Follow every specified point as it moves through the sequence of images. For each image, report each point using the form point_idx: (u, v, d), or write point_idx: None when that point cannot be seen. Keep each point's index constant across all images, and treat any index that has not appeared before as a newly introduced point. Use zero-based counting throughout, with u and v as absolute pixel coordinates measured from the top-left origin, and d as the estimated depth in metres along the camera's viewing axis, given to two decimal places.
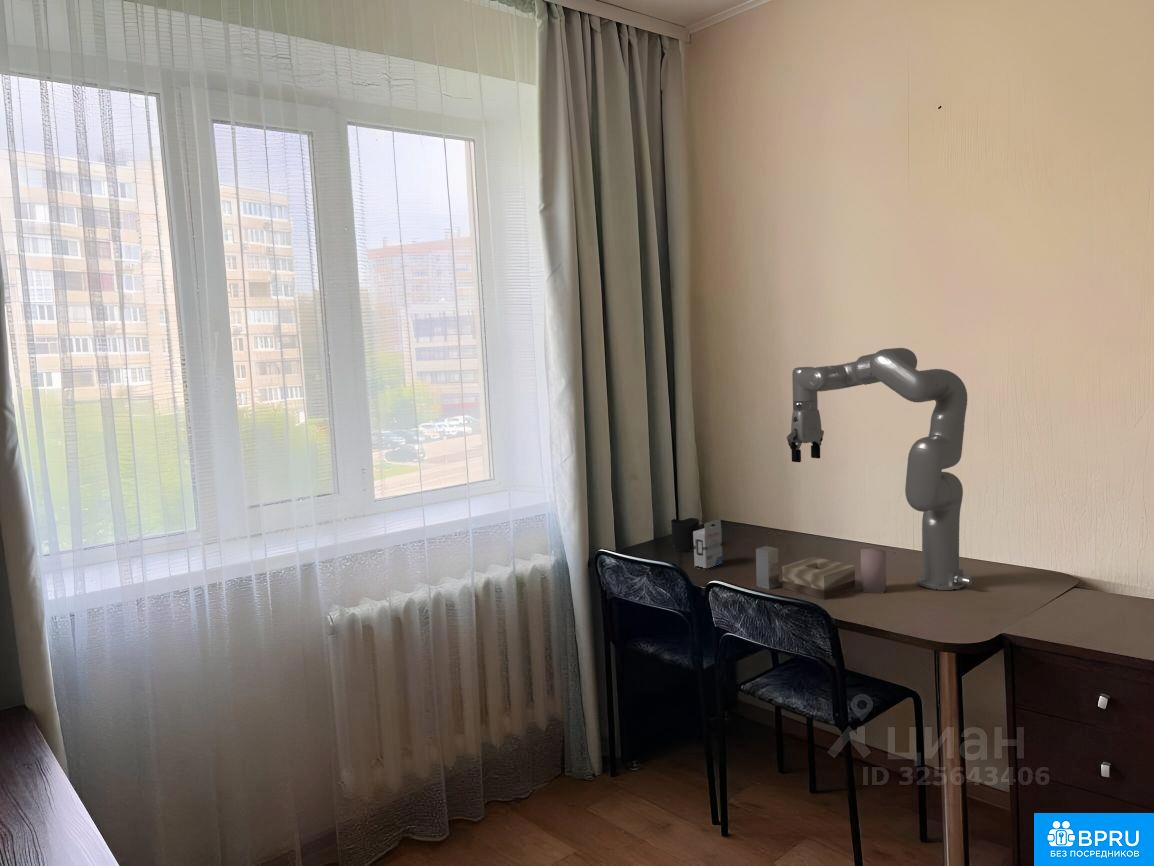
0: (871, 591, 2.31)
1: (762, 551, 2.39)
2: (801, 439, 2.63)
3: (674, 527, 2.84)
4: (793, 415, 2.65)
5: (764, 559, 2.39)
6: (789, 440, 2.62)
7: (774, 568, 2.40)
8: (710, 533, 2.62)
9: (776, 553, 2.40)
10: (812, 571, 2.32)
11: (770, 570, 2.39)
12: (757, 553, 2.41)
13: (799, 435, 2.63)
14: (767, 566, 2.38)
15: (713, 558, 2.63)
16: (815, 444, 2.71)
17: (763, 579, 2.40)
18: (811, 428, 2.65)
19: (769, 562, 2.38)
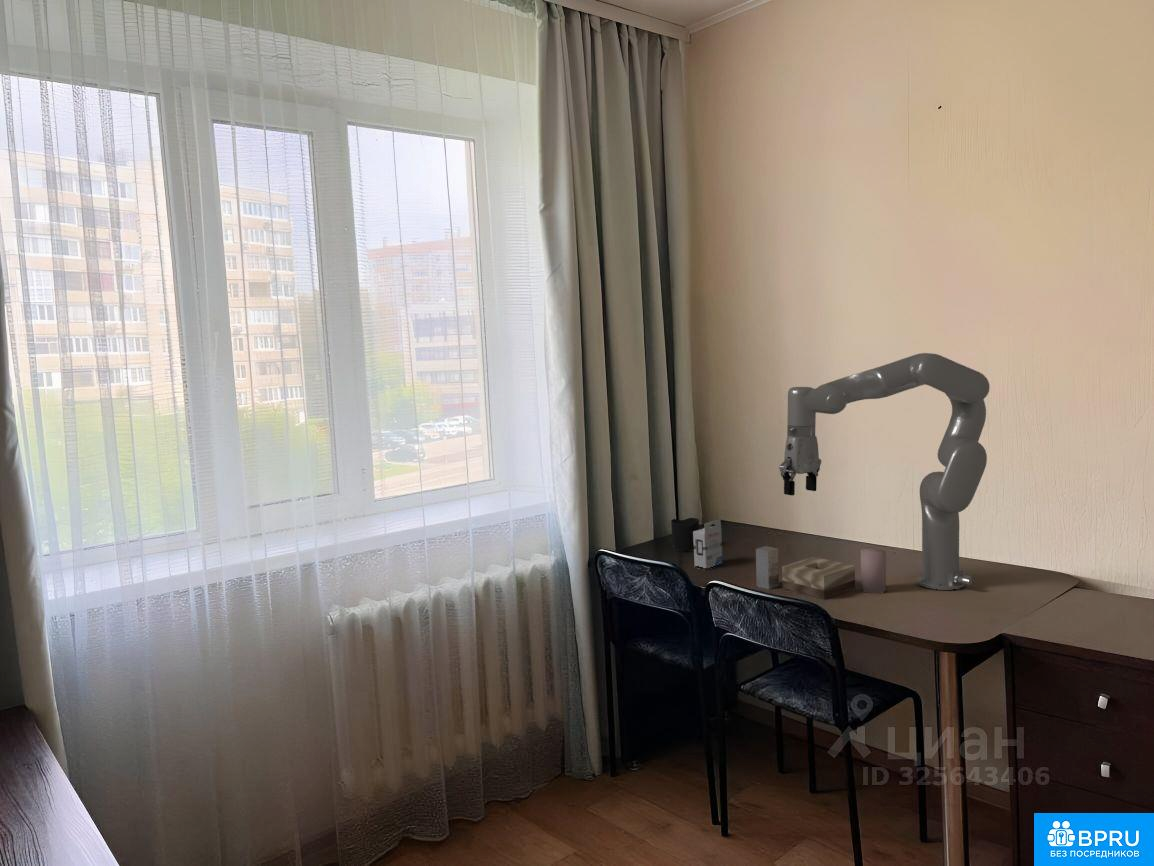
0: (871, 591, 2.31)
1: (762, 551, 2.39)
2: (795, 469, 2.30)
3: (674, 527, 2.84)
4: (787, 441, 2.32)
5: (764, 559, 2.39)
6: (782, 470, 2.30)
7: (774, 568, 2.40)
8: (710, 533, 2.62)
9: (776, 553, 2.40)
10: (812, 571, 2.32)
11: (770, 570, 2.39)
12: (757, 553, 2.41)
13: (793, 465, 2.31)
14: (767, 566, 2.38)
15: (713, 558, 2.63)
16: (811, 475, 2.38)
17: (763, 579, 2.40)
18: (807, 457, 2.32)
19: (769, 562, 2.38)
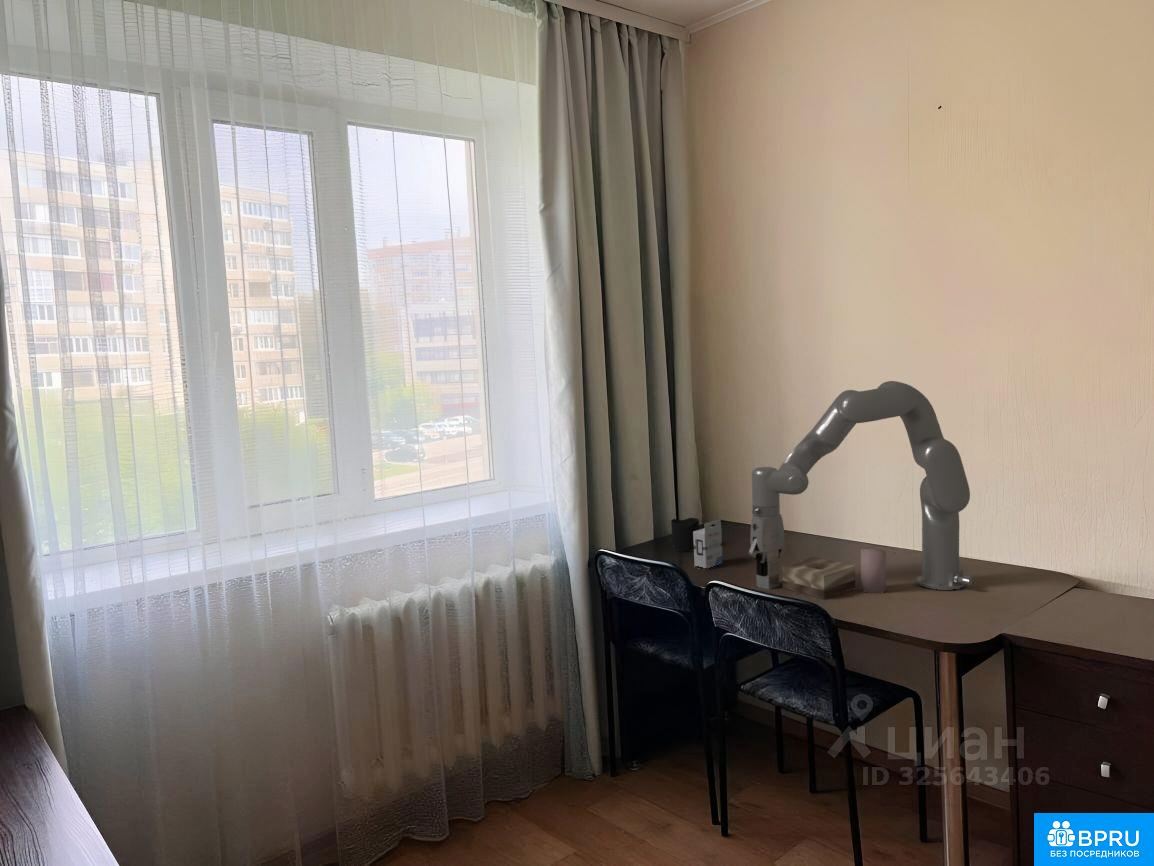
0: (871, 591, 2.31)
1: None
2: (760, 549, 2.36)
3: (674, 527, 2.84)
4: (752, 521, 2.38)
5: None
6: (752, 555, 2.37)
7: (774, 568, 2.40)
8: (710, 533, 2.62)
9: (776, 553, 2.40)
10: (812, 571, 2.32)
11: (770, 570, 2.39)
12: None
13: None
14: (767, 566, 2.38)
15: (713, 558, 2.63)
16: None
17: (763, 579, 2.40)
18: (772, 536, 2.38)
19: (769, 562, 2.38)
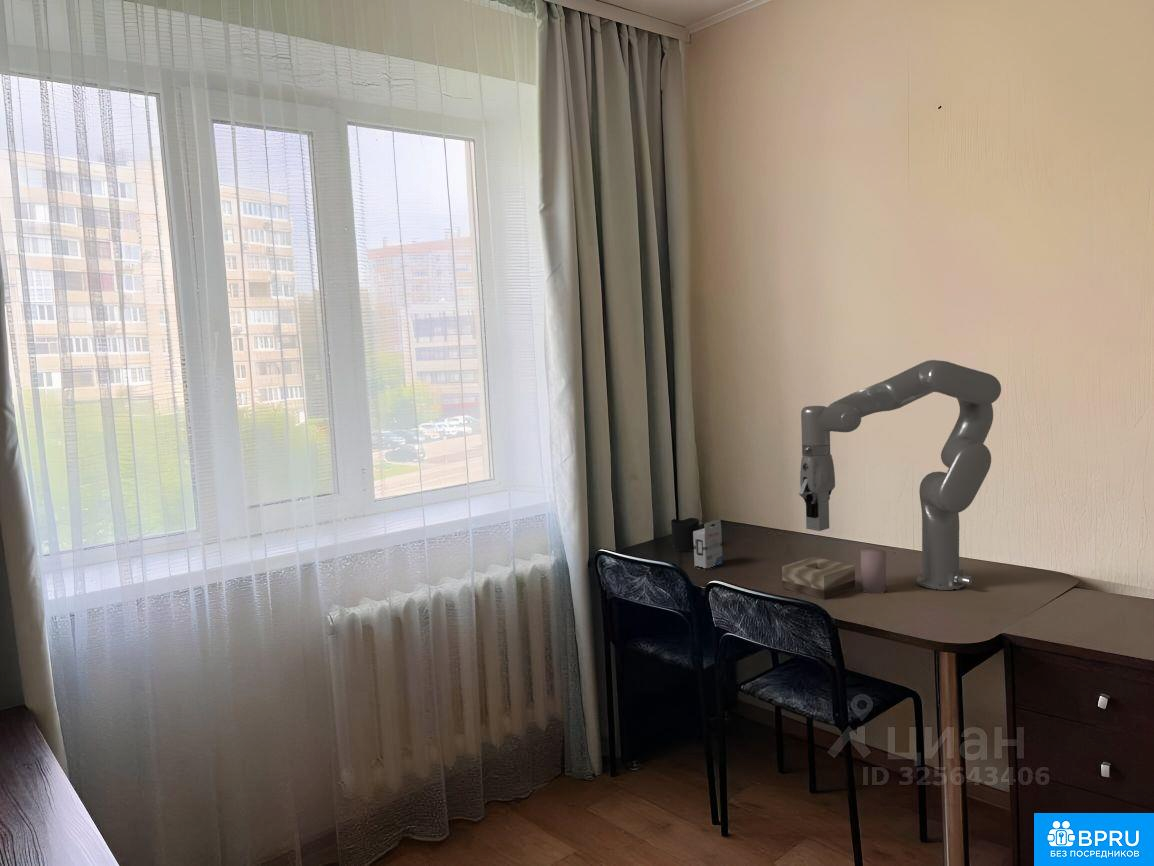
0: (871, 591, 2.31)
1: None
2: (811, 489, 2.30)
3: (674, 527, 2.84)
4: (802, 461, 2.32)
5: None
6: (803, 496, 2.31)
7: (825, 509, 2.34)
8: (710, 533, 2.62)
9: (826, 494, 2.34)
10: (812, 571, 2.32)
11: (821, 511, 2.33)
12: None
13: None
14: (818, 507, 2.32)
15: (713, 558, 2.63)
16: None
17: (814, 520, 2.34)
18: (823, 476, 2.32)
19: (820, 503, 2.32)
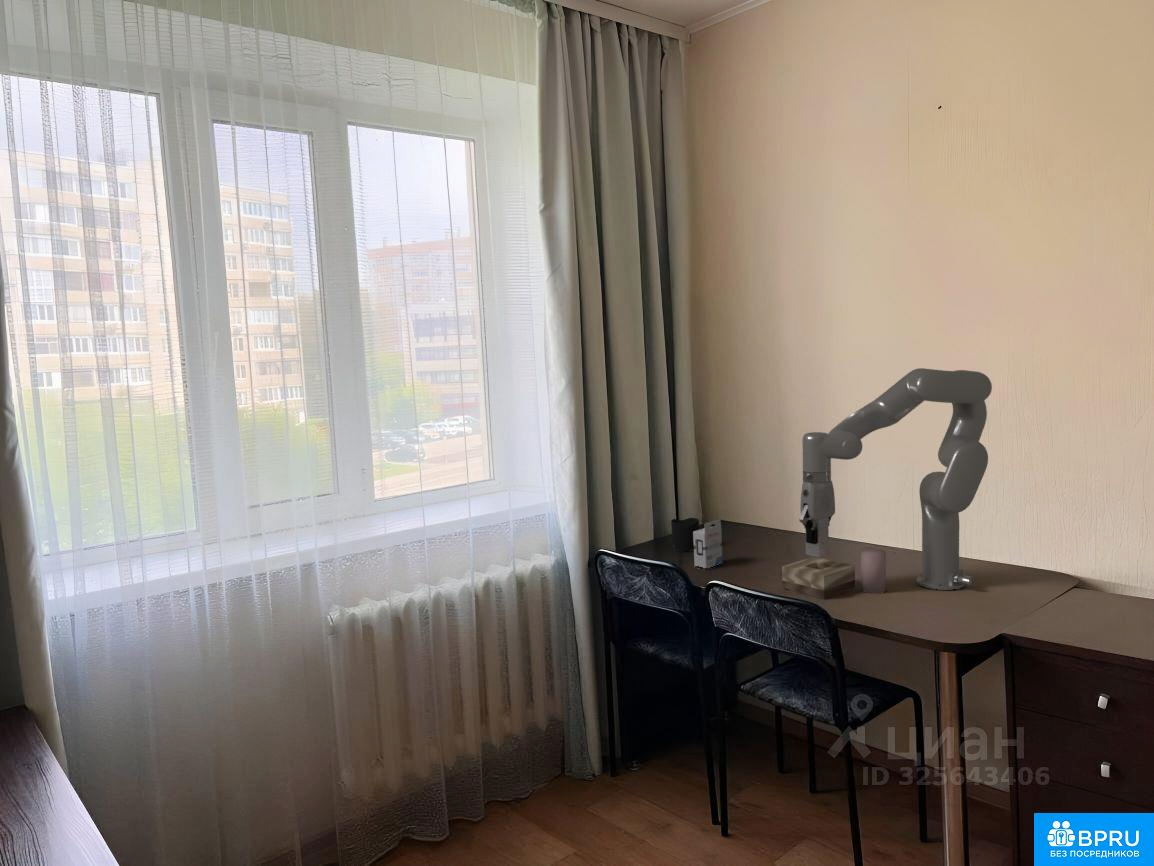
0: (871, 591, 2.31)
1: None
2: (811, 515, 2.31)
3: (674, 527, 2.84)
4: (803, 487, 2.33)
5: None
6: (803, 522, 2.32)
7: (824, 535, 2.35)
8: (710, 533, 2.62)
9: (826, 520, 2.35)
10: (812, 571, 2.32)
11: (820, 537, 2.34)
12: None
13: None
14: (817, 533, 2.33)
15: (713, 558, 2.63)
16: None
17: (813, 546, 2.35)
18: (823, 503, 2.32)
19: (819, 529, 2.33)
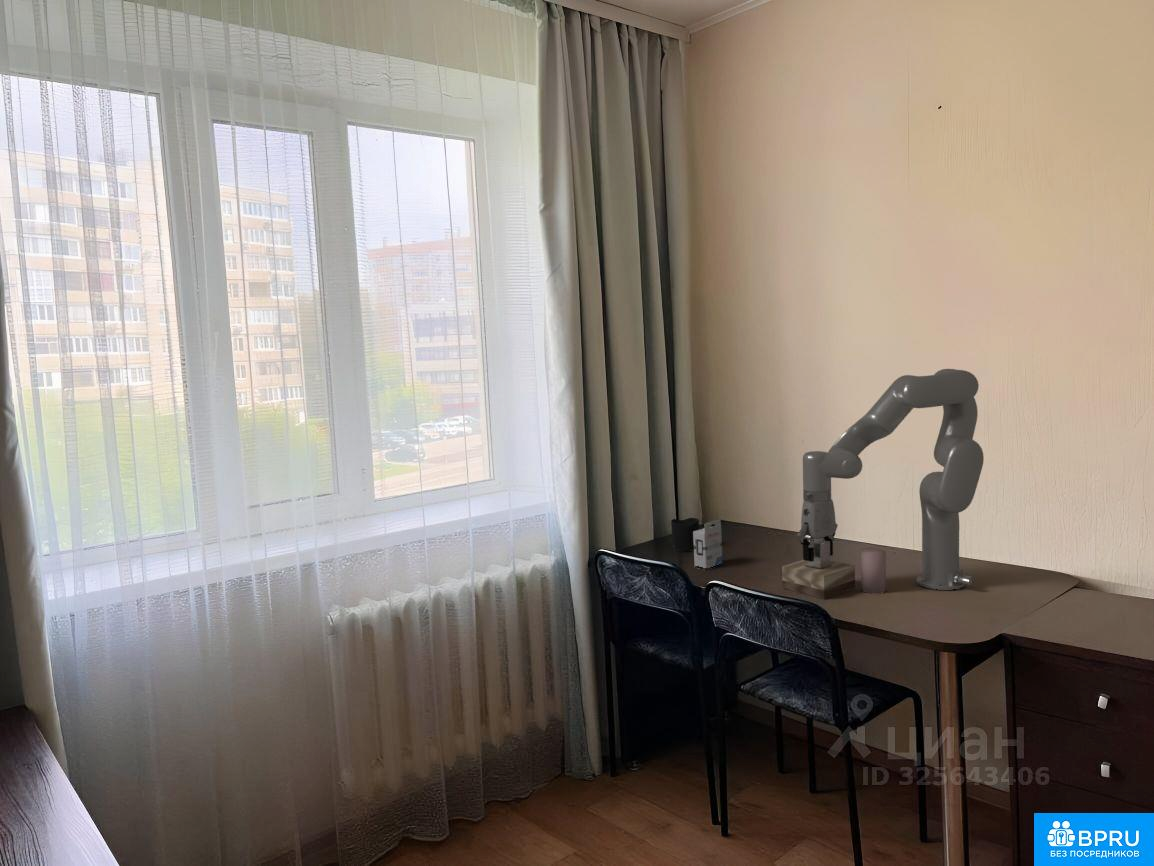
0: (871, 591, 2.31)
1: (814, 544, 2.35)
2: (812, 534, 2.31)
3: (674, 527, 2.84)
4: (803, 507, 2.33)
5: (815, 552, 2.35)
6: (800, 538, 2.31)
7: (826, 561, 2.35)
8: (710, 533, 2.62)
9: (828, 546, 2.36)
10: (812, 571, 2.32)
11: (822, 563, 2.34)
12: None
13: (811, 531, 2.32)
14: (819, 559, 2.34)
15: (713, 558, 2.63)
16: (827, 539, 2.39)
17: None
18: (824, 522, 2.33)
19: (821, 555, 2.34)
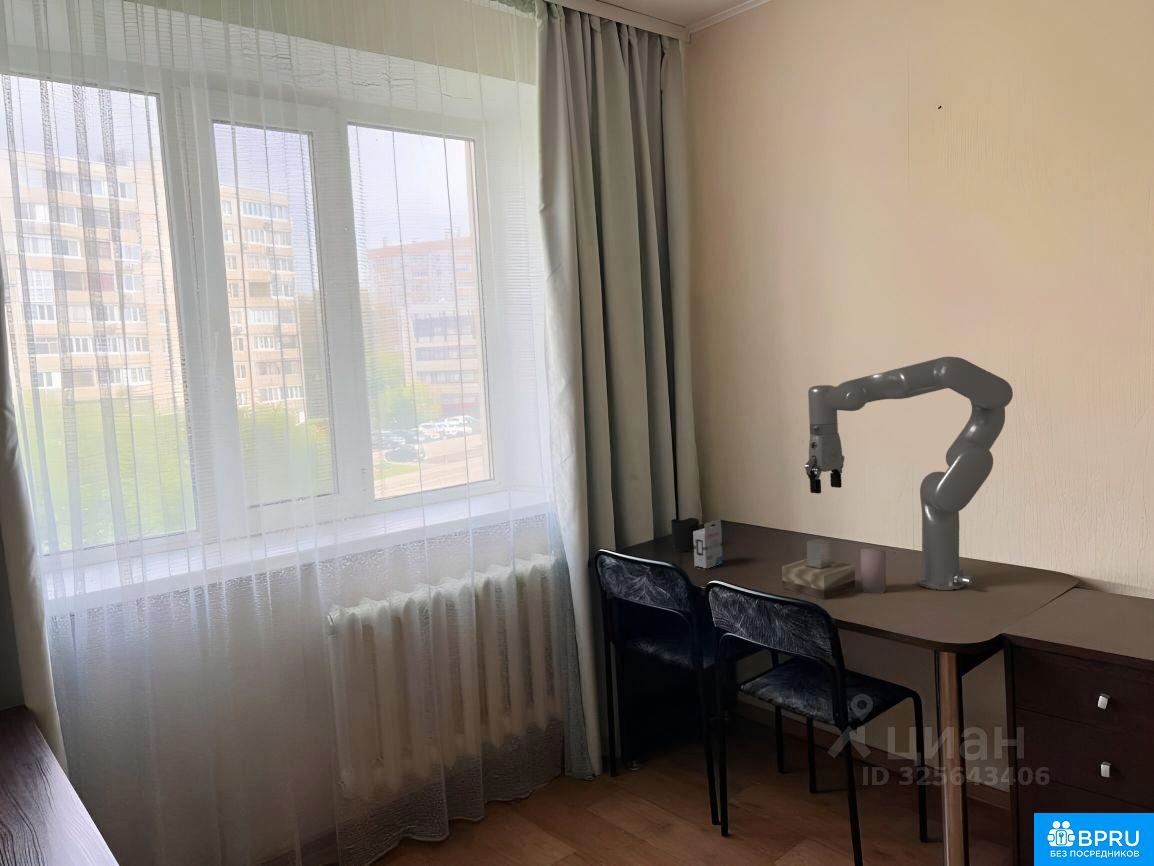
0: (871, 591, 2.31)
1: (814, 544, 2.35)
2: (820, 467, 2.32)
3: (674, 527, 2.84)
4: (811, 440, 2.34)
5: (815, 552, 2.35)
6: (807, 469, 2.32)
7: (826, 561, 2.35)
8: (710, 533, 2.62)
9: (828, 546, 2.36)
10: (812, 571, 2.32)
11: (822, 563, 2.34)
12: (808, 546, 2.36)
13: (818, 463, 2.32)
14: (819, 559, 2.34)
15: (713, 558, 2.63)
16: (835, 472, 2.40)
17: None
18: (831, 454, 2.34)
19: (821, 555, 2.34)
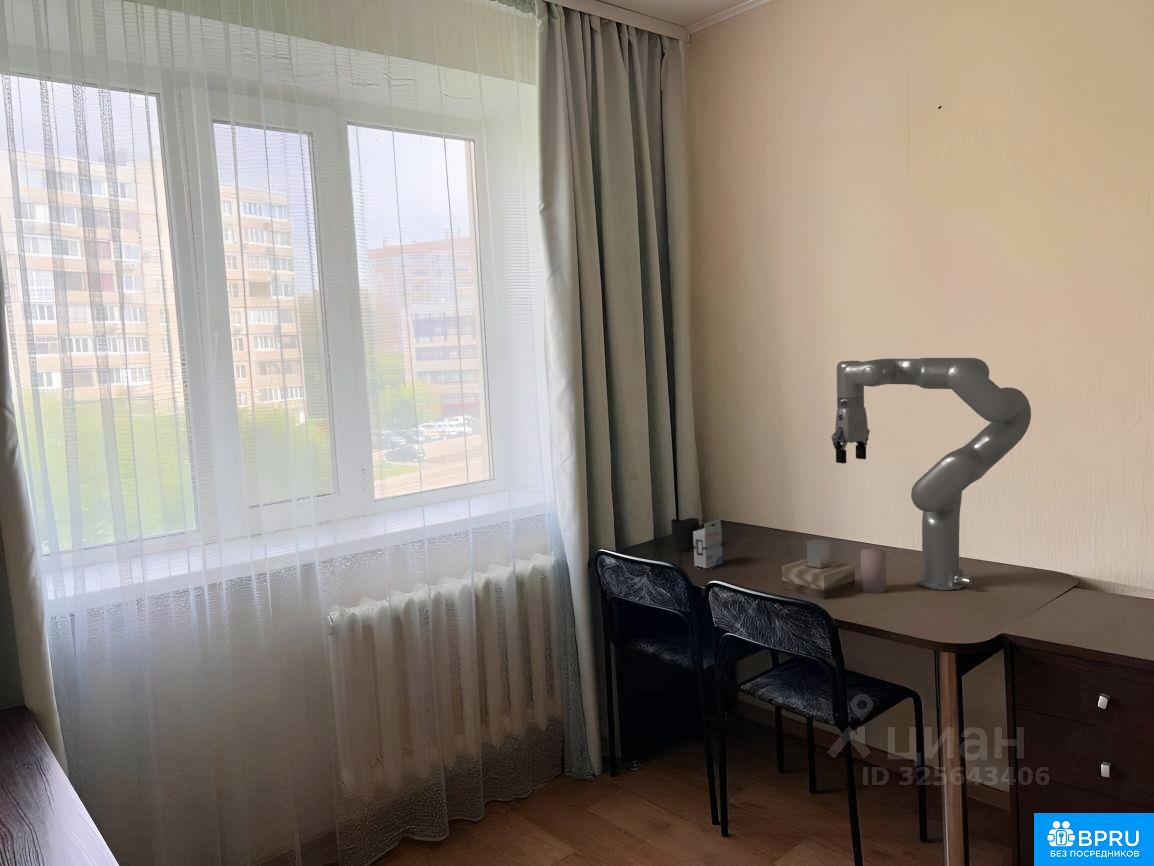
0: (871, 591, 2.31)
1: (814, 544, 2.35)
2: (846, 438, 2.44)
3: (674, 527, 2.84)
4: (838, 413, 2.46)
5: (815, 552, 2.35)
6: (834, 439, 2.43)
7: (826, 561, 2.35)
8: (710, 533, 2.62)
9: (828, 546, 2.36)
10: (812, 571, 2.32)
11: (822, 563, 2.34)
12: (808, 546, 2.36)
13: (844, 434, 2.44)
14: (819, 559, 2.34)
15: (713, 558, 2.63)
16: (860, 444, 2.52)
17: None
18: (857, 427, 2.46)
19: (821, 555, 2.34)
